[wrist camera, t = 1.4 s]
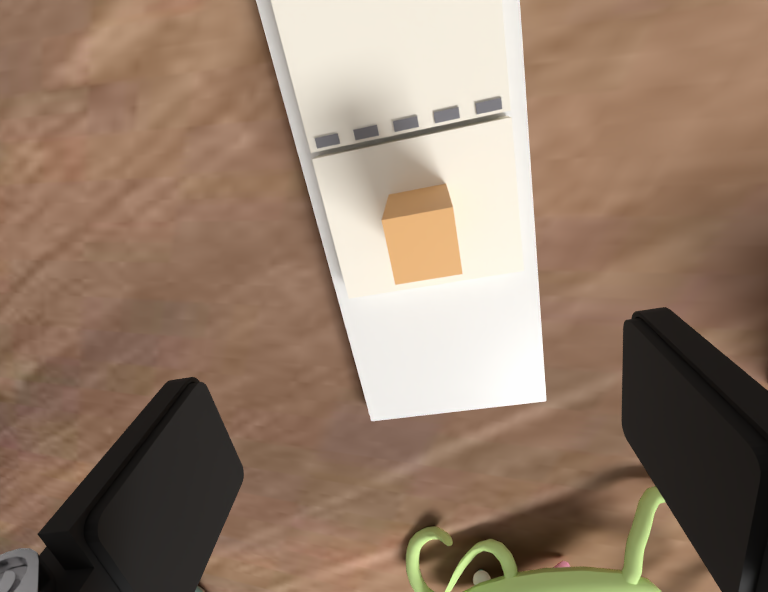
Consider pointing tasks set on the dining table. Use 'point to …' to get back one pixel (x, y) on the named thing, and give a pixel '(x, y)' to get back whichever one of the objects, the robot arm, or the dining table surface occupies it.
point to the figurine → (547, 585)
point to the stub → (424, 208)
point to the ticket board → (404, 119)
